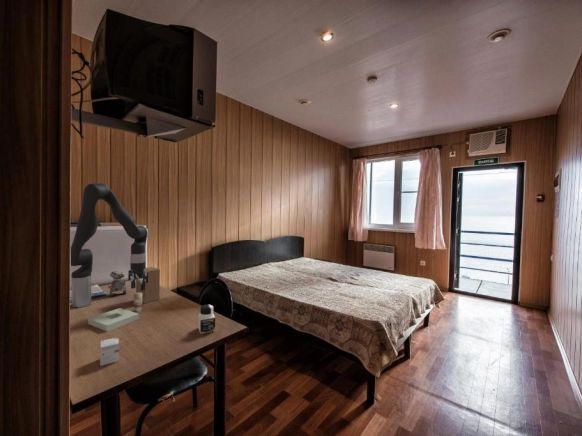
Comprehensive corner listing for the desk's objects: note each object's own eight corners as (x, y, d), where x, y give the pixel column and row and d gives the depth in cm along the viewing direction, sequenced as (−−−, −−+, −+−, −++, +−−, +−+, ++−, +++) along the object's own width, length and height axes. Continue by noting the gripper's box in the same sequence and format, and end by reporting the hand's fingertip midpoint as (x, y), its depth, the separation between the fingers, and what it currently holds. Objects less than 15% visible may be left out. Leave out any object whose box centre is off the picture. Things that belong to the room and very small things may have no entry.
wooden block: (159, 299, 172) (160, 268, 171) (144, 304, 164) (144, 271, 163) (151, 296, 177) (151, 266, 176) (135, 300, 169) (135, 269, 168)
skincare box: (100, 366, 101) (100, 347, 100) (100, 358, 106) (100, 340, 105) (119, 361, 104) (119, 342, 104) (118, 354, 109) (118, 336, 109)
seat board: (88, 324, 135) (88, 318, 134) (120, 313, 149) (120, 307, 149) (106, 331, 128) (106, 325, 127) (138, 319, 142) (138, 313, 142)
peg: (131, 311, 152) (132, 294, 152) (139, 308, 156) (139, 291, 156) (136, 312, 150) (136, 295, 150) (143, 310, 154) (144, 293, 154)
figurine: (123, 290, 187) (123, 269, 186) (126, 295, 178) (126, 272, 178) (107, 293, 181) (107, 271, 180) (110, 297, 172) (110, 274, 172)
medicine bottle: (200, 334, 128) (200, 309, 128) (197, 327, 134) (198, 304, 134) (215, 331, 131) (215, 307, 131) (212, 325, 138) (212, 302, 137)
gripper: (123, 261, 151) (123, 289, 152) (139, 263, 145) (139, 293, 146) (136, 258, 158) (136, 285, 159) (152, 261, 152) (152, 289, 152)
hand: (138, 289), depth 152 cm, fingers open, 8 cm apart
